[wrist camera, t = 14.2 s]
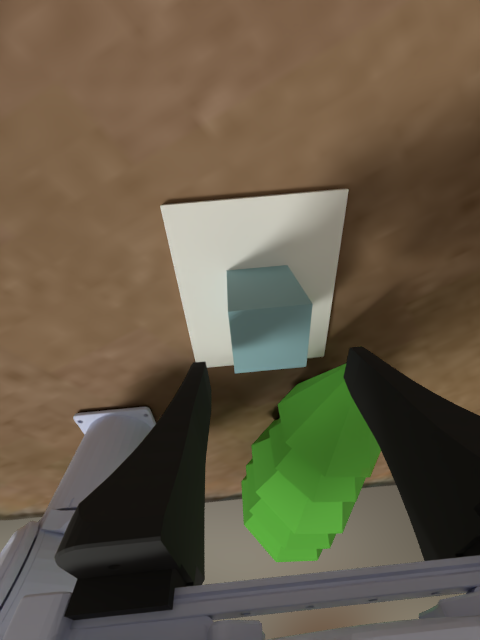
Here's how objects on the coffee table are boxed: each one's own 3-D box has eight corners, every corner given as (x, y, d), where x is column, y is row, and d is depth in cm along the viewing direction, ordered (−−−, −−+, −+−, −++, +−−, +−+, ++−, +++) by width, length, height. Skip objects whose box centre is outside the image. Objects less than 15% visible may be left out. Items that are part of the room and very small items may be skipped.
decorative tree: (258, 606, 26) (392, 477, 9) (219, 493, 34) (252, 315, 18) (336, 549, 31) (515, 395, 14) (285, 461, 39) (360, 298, 22)
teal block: (285, 316, 20) (306, 366, 15) (231, 321, 20) (234, 373, 15) (287, 264, 18) (312, 304, 13) (226, 270, 18) (227, 311, 13)
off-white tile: (321, 352, 23) (323, 356, 23) (197, 364, 23) (197, 368, 23) (344, 188, 16) (348, 189, 15) (162, 204, 16) (160, 205, 15)
